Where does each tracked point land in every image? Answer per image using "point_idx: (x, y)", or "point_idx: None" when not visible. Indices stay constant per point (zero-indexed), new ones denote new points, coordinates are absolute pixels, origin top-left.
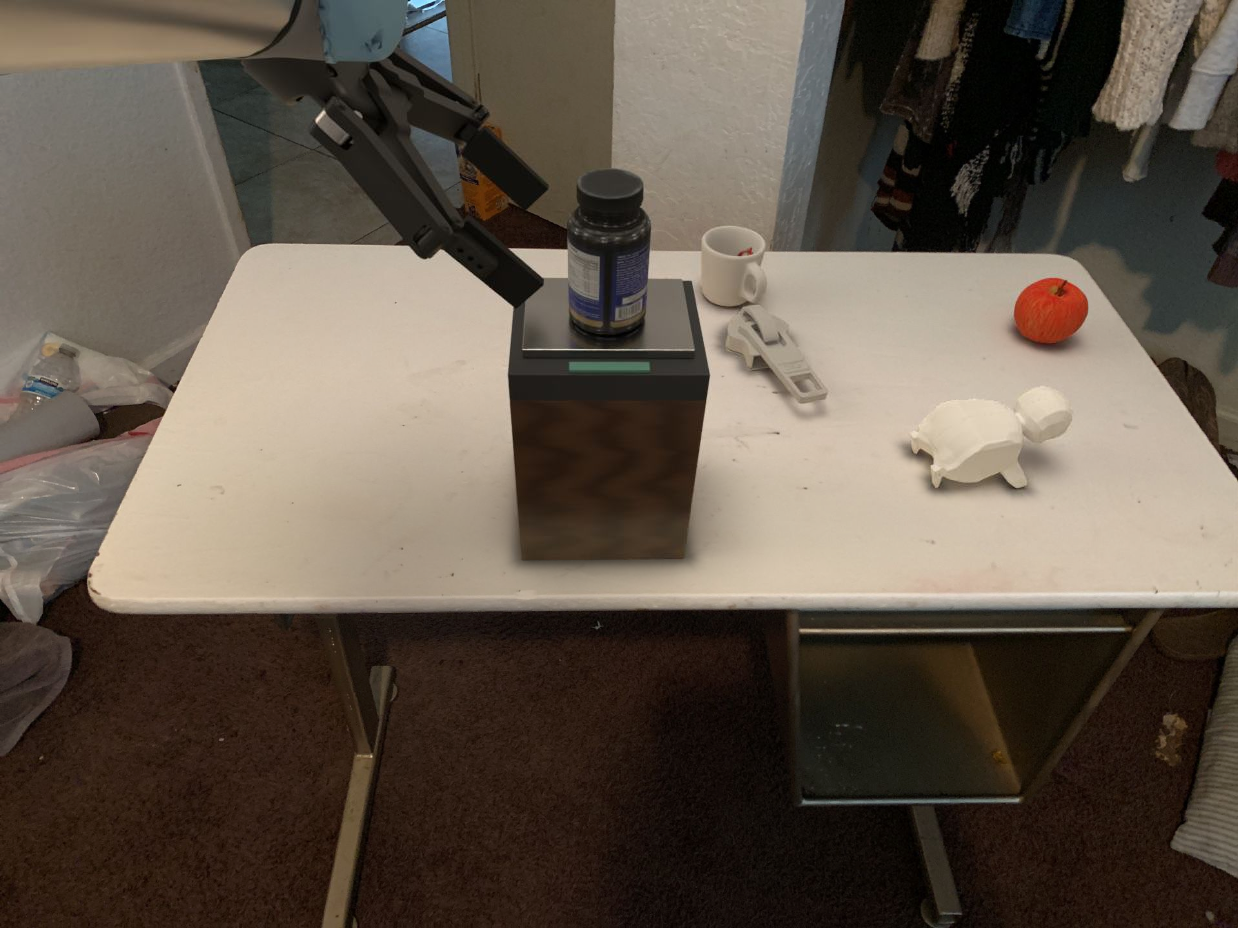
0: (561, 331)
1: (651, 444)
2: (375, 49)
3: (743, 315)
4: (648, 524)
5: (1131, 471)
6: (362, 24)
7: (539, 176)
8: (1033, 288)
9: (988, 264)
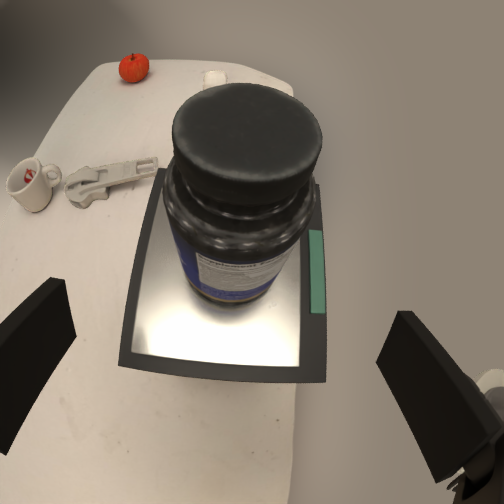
0: (263, 317)
1: None
2: None
3: (68, 189)
4: None
5: (229, 79)
6: None
7: (37, 288)
8: (125, 65)
9: (81, 84)
